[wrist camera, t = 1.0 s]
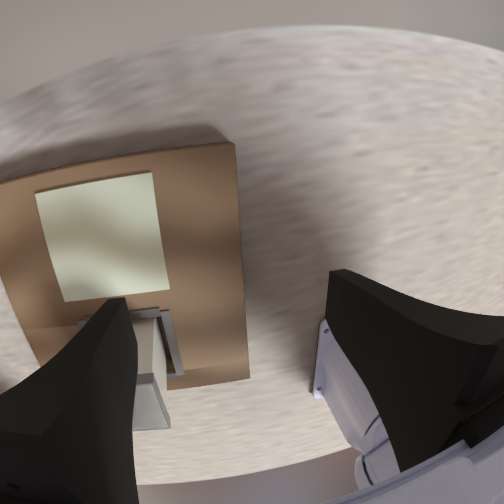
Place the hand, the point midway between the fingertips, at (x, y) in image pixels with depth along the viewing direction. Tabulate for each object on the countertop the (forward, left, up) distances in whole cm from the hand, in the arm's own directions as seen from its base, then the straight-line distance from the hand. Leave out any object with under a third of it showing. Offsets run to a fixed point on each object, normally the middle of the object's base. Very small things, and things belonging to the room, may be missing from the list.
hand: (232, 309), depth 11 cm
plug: (-8, +6, -10) cm, 14 cm away
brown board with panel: (-4, +6, -10) cm, 12 cm away
